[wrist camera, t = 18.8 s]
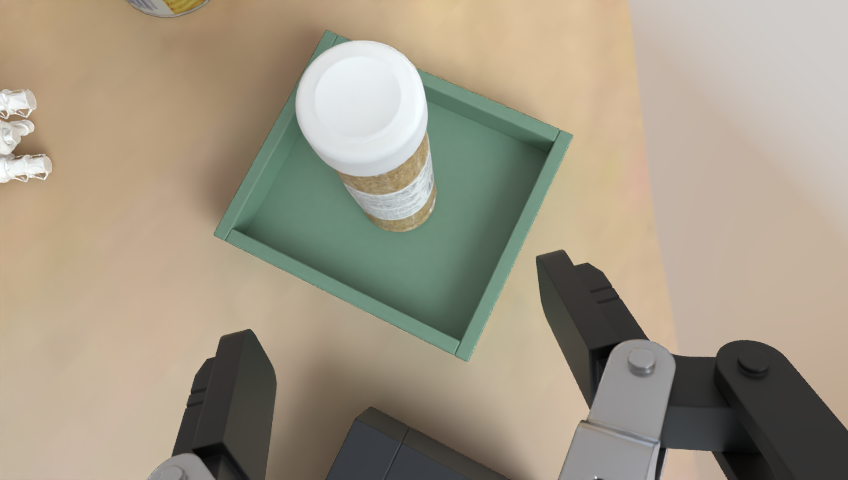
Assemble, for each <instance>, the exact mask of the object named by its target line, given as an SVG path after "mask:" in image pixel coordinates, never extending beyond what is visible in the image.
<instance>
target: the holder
mask: <svg viewBox="0 0 848 480" xmlns="http://www.w3.org/2000/svg"><path fill="white" fill-rule="evenodd" d="M326 480H510V479H508V478H506V477H504V476H503V475H501V474H499V473H497V472H495V471H493V470H491V469H489V468H487V467H485V466H483V465H482V464H480V463H478V462H476V461H474V460H472V459H470V458H468V457H466V456H464V455H463V454H461V453H459V452H457V451H455V450H453V449H451V448H449V447H447V446H445V445H443V444H442V443H440V442H438V441H436V440H434V439H432V438H430V437H428V436H426V435H424V434H423V433H421V432H419V431H417V430H415V429H413V428H411V427H410V428H409V426H407V425H405V424H403V423H401V422H400V421H398V420H396V419H394V418H392V417H390V416H388V415H386V414H384V413H382V412H381V411H379V410H377V409H375V408H373V407H369V408H368V409H367V410H366V411H364V412H363V413H362V414H361V415H360V416H358V417H357V418H356V419H355V420H354V422H353V424H352V427H351V429H350V431H349V433H348V435H347V437H346V439H345V441H344V443H343V445H342V447H341V449H340V451H339V453H338V455H337V457H336V459H335V461H334V463H333V465H332V467H331V470H330V472H329V474H328V476H327V478H326Z"/></svg>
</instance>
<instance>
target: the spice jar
mask: <svg viewBox="0 0 848 480" xmlns="http://www.w3.org/2000/svg"><path fill="white" fill-rule="evenodd" d="M295 106H296V116H297V120H298V124H299V126H300V129H301V131H302V133H303V135H304V136H305V138H306V139H307V141H308V142H309V144H310V145H311V147H312V148H313V149H314V151H315V152H316V153H317V154H318V156H319V157H320V158H321V159H322V160H323V161H324V162H325V163H326V164H328V165H329V166H330V167H332V168H334V170H335V171H336V172H337V173H338V175H339V177H340V178H341V180H342V181H343V183H344V185H345V187H346V188H347V190H348V191H349V192H350V194H351V195H352V196H353V198H354V199H355V200H356V202H357V203H358V204H359V205H360V207H361V208H362V209H363V211H364V212H365V214H366V216H367V217H368V218H369V219H370V221H371V222H372V223H374V224H375V225H377V226H378V227H380V228H381V229H383V230H386V231H392V232H405V231H409V230H413V229H415V228H416V227H418V226H420V225H421V224H422V223H424V222H425V221H426V220H427V219H428V217H429V216H430V214H431V213H432V211H433V209H434V207H435V202H436V194H437V190H436V185H435V181H434V174H433V167H432V159H431V152H430V145H429V139H428V134H427V131H426V128H427V121H428V110H427V103H426V96H425V92H424V88H423V84H422V80H421V78H420V76H419V74H418V72H417V70H416V68H415V67H414V65H413V64H412V63H411V62H410V60H409V59H408V58H407V57H405V56H404V55H403V54H402V53H400V52H399V51H398V50H396V49H394V48H393V47H391V46H389V45H386V44H383V43H380V42H376V41H369V40H355V41H349V42H344V43H341V44H339V45H336V46H334V47H332V48H330V49H328V50H326V51H325V52H323V53H322V54H321V55H319V56H318V57H317V58H316V59H315V60H314V61H313V62H312V63H311V64H310V65H309V67H308V68H307V69H306V71H305V73H304V74H303V76H302V78H301V80H300V83H299V86H298V89H297V93H296V102H295Z"/></svg>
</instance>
